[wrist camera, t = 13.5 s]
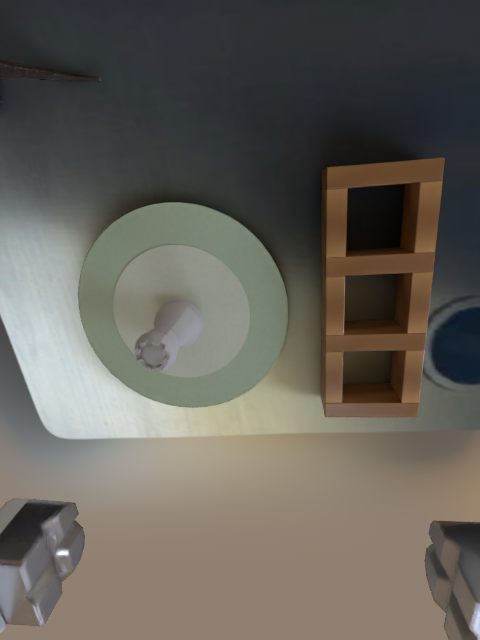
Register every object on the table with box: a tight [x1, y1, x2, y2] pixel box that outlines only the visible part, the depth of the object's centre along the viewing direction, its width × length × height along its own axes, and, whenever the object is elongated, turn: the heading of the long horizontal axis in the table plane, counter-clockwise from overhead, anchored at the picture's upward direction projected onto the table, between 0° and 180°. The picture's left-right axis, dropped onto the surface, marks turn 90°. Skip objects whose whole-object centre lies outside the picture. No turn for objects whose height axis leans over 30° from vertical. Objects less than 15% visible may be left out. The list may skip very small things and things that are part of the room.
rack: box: [321, 158, 445, 417], centre depth 30 cm, size 21×8×4 cm, turn 4°
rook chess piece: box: [135, 300, 204, 373], centre depth 29 cm, size 4×4×8 cm
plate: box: [78, 202, 288, 408], centre depth 33 cm, size 20×20×1 cm
